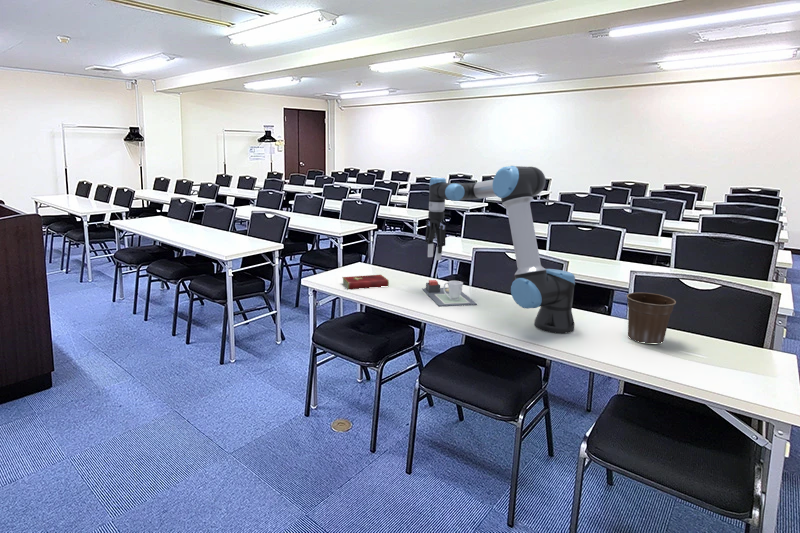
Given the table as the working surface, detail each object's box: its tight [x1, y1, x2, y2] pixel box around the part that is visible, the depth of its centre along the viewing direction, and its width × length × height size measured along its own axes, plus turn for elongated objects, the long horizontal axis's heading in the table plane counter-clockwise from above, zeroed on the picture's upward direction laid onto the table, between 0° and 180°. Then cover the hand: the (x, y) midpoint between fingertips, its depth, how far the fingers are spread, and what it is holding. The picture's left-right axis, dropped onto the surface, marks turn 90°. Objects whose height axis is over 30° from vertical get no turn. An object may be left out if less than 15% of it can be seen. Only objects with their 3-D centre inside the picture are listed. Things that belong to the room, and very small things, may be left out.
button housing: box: [425, 282, 441, 293], centre depth 234 cm, size 6×6×4 cm
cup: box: [442, 280, 464, 301], centre depth 222 cm, size 7×10×8 cm
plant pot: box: [626, 292, 677, 344], centre depth 178 cm, size 16×16×16 cm
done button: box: [428, 279, 439, 285], centre depth 234 cm, size 4×4×3 cm
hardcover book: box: [341, 274, 390, 290], centre depth 244 cm, size 12×21×4 cm, turn 111°
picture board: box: [421, 287, 478, 308], centre depth 227 cm, size 28×18×1 cm, turn 13°
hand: (434, 258), depth 231 cm, fingers open, 6 cm apart
